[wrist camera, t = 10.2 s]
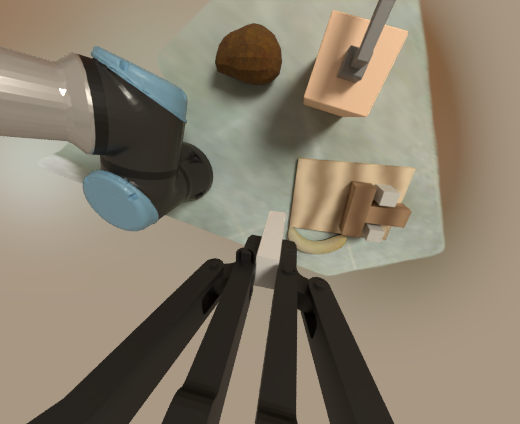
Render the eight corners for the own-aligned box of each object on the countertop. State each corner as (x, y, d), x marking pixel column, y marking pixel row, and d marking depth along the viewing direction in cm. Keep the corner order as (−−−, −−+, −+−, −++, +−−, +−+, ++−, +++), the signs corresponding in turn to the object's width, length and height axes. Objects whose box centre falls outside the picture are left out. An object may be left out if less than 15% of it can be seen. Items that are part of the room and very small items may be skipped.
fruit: (340, 252, 53) (342, 260, 50) (286, 245, 56) (285, 252, 53) (346, 231, 50) (349, 238, 47) (289, 224, 52) (288, 230, 49)
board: (289, 224, 52) (289, 226, 51) (298, 158, 44) (298, 158, 43) (383, 237, 48) (385, 239, 47) (413, 167, 40) (415, 168, 39)
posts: (360, 229, 48) (366, 240, 43) (375, 183, 42) (384, 191, 38) (373, 231, 47) (380, 242, 43) (390, 185, 42) (400, 193, 37)
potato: (231, 22, 35) (211, -3, 28) (291, 42, 35) (288, 22, 27) (222, 75, 40) (203, 66, 32) (276, 94, 39) (270, 88, 31)
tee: (338, 226, 48) (341, 234, 45) (351, 180, 43) (356, 186, 39) (389, 233, 46) (397, 242, 43) (410, 186, 41) (420, 193, 37)
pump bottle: (343, 117, 39) (383, 117, 19) (302, 104, 39) (303, 93, 20) (378, 37, 32) (489, -79, 13) (330, 23, 33) (370, -110, 14)
